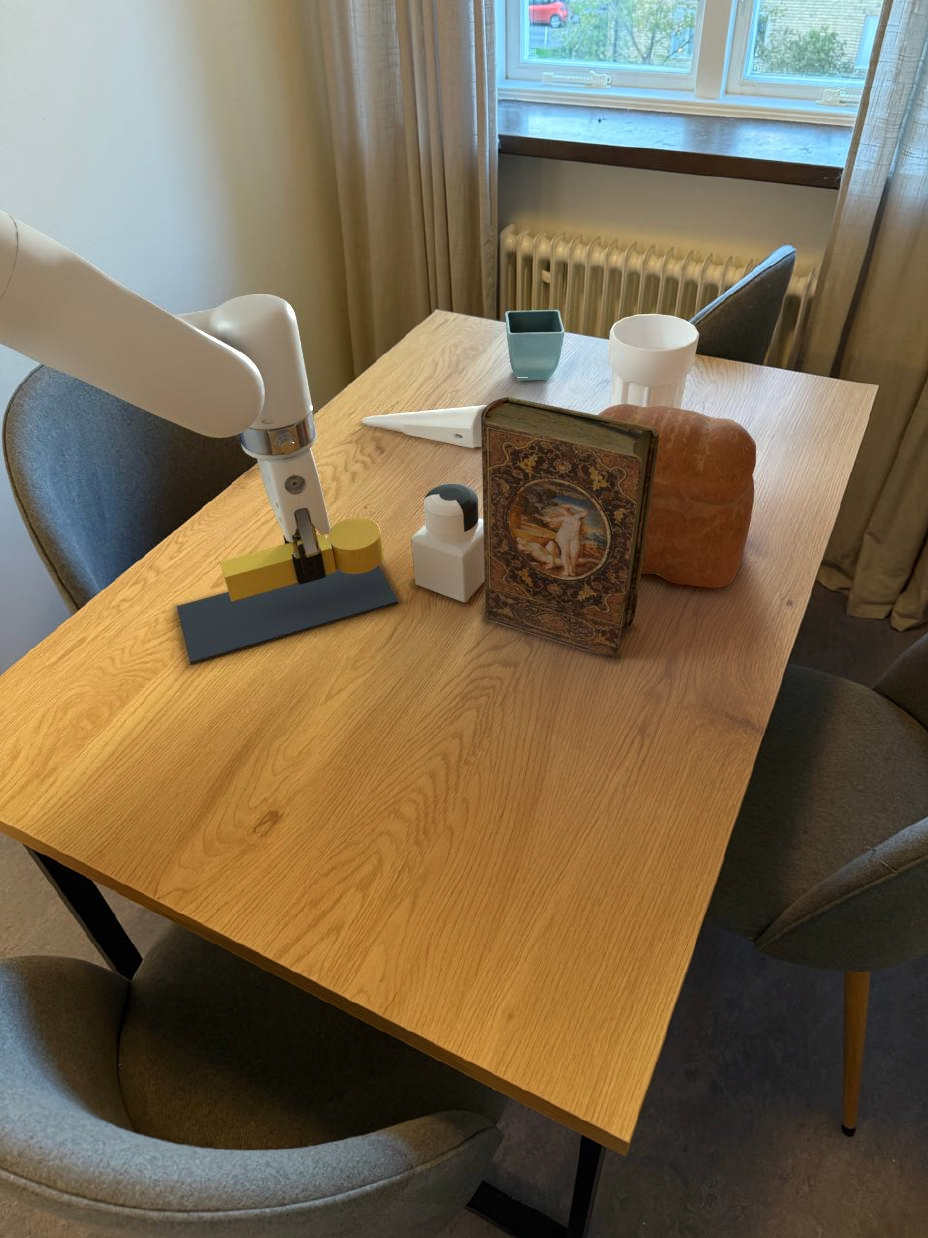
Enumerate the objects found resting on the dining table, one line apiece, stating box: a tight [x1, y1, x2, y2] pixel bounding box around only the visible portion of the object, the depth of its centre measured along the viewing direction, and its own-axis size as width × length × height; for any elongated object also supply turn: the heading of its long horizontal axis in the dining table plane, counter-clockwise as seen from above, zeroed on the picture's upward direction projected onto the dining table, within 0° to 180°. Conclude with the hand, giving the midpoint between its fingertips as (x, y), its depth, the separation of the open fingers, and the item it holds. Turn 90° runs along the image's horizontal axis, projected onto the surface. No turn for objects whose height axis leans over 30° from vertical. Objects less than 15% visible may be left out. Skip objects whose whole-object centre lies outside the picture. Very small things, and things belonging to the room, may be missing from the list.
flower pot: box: [504, 309, 565, 382], centre depth 134 cm, size 9×9×9 cm
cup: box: [607, 313, 700, 409], centre depth 113 cm, size 11×11×17 cm
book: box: [481, 396, 659, 658], centre depth 85 cm, size 16×6×25 cm, turn 64°
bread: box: [597, 404, 757, 589], centre depth 97 cm, size 18×21×17 cm
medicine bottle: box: [410, 482, 485, 603], centre depth 96 cm, size 7×7×12 cm
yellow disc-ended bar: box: [219, 517, 385, 601], centre depth 94 cm, size 18×6×4 cm, turn 112°
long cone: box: [361, 404, 488, 449], centre depth 124 cm, size 6×6×19 cm
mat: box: [176, 565, 399, 665], centre depth 97 cm, size 24×10×1 cm, turn 112°
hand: (307, 568), depth 95 cm, fingers closed on yellow disc-ended bar, 3 cm apart
